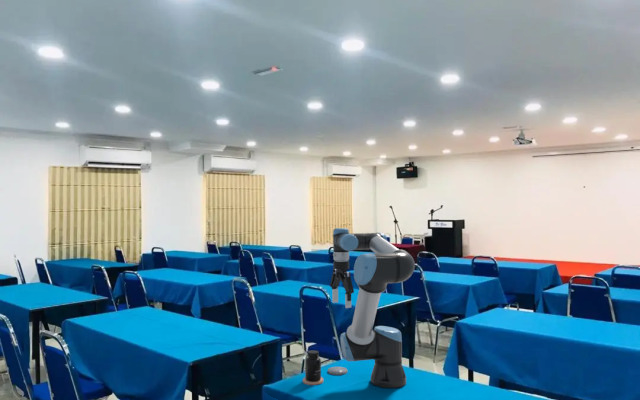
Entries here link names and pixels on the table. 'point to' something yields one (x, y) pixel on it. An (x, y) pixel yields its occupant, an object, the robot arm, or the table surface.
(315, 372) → the supplement bottle
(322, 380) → the terracotta coaster
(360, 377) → the table surface
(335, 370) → the slate coaster
